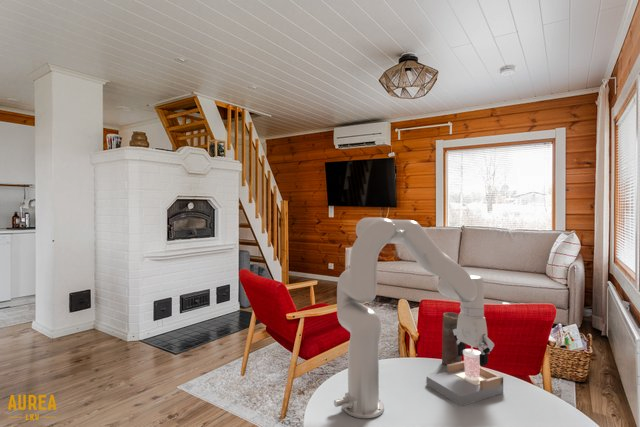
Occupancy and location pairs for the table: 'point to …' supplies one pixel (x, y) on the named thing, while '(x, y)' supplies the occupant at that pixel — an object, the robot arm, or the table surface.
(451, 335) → the brown rough cylinder
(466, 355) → the beverage cup
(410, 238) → the robot arm
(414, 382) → the table surface
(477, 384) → the dock
